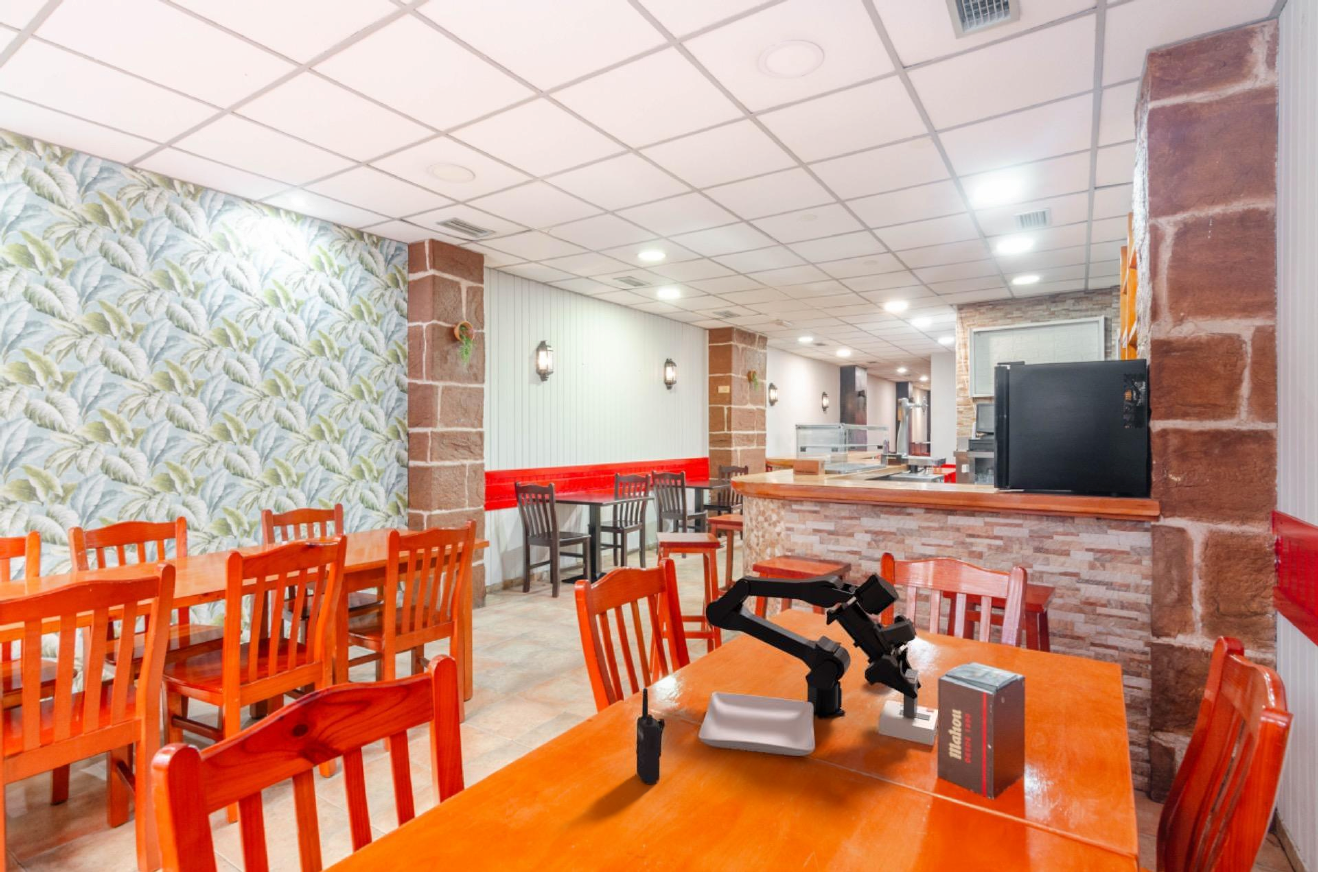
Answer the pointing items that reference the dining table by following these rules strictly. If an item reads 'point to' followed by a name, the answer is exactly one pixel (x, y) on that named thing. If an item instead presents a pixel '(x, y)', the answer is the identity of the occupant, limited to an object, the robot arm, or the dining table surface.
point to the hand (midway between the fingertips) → (917, 692)
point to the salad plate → (759, 724)
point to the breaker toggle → (909, 703)
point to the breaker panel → (908, 723)
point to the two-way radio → (648, 744)
